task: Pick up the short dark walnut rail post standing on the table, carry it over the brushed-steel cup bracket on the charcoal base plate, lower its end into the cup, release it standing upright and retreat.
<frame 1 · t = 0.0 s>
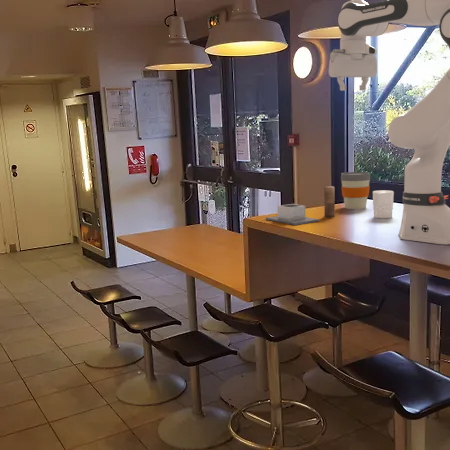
hand: (353, 90, 197), 48 cm above the table, tool pointing down, fingers open, 8 cm apart
reusable coffee cup: (355, 208, 243), on the table
walnut rail post: (329, 216, 222), on the table
white cup: (382, 217, 217), on the table
cup bracket: (291, 220, 217), on the table
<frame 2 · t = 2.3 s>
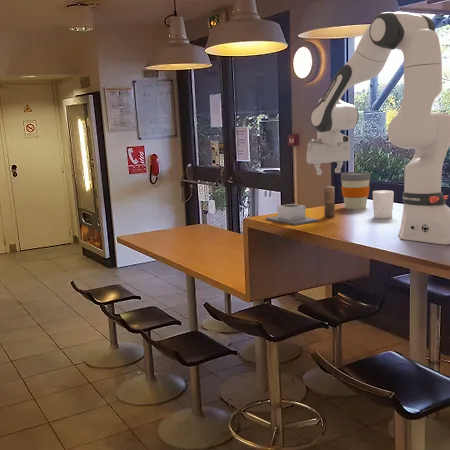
hand: (328, 173, 219), 17 cm above the table, tool pointing down, fingers open, 8 cm apart
nothing on the table moved.
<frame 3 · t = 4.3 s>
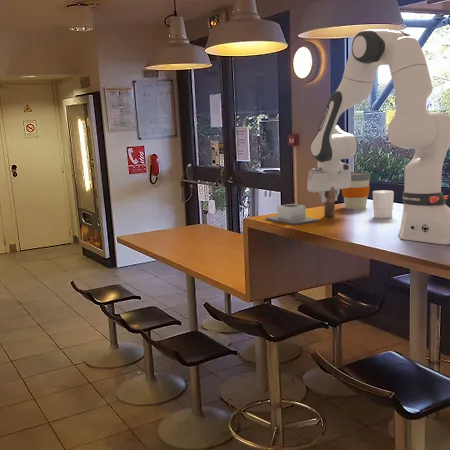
hand: (329, 201, 221), 6 cm above the table, tool pointing down, fingers closed on walnut rail post, 4 cm apart
walnut rail post: (329, 216, 222), on the table, touching gripper
everything else where it was.
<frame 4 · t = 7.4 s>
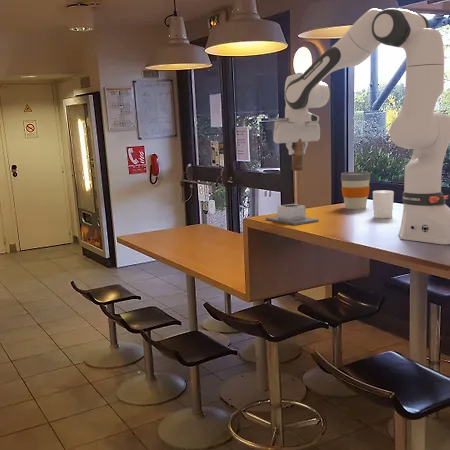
hand: (297, 154, 214), 26 cm above the table, tool pointing down, fingers closed on walnut rail post, 4 cm apart
walnut rail post: (297, 170, 215), point 19 cm above the table, touching gripper
everything else where it was.
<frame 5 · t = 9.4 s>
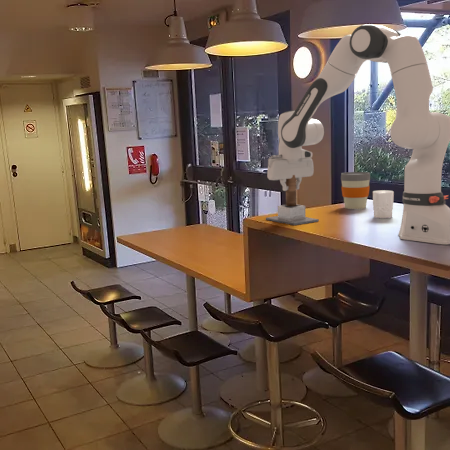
hand: (291, 190, 215), 12 cm above the table, tool pointing down, fingers closed on walnut rail post, 4 cm apart
walnut rail post: (291, 205, 216), point 6 cm above the table, touching gripper
everything else where it was.
when the fingers open (8 cm above the table, at t = 10.9 s): walnut rail post drops 1 cm, resting on cup bracket.
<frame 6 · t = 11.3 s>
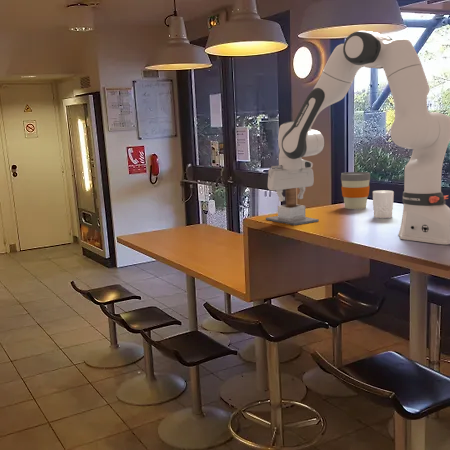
hand: (291, 200, 216), 8 cm above the table, tool pointing down, fingers open, 8 cm apart
walnut rail post: (291, 218, 217), point 1 cm above the table, touching cup bracket
everything else where it was.
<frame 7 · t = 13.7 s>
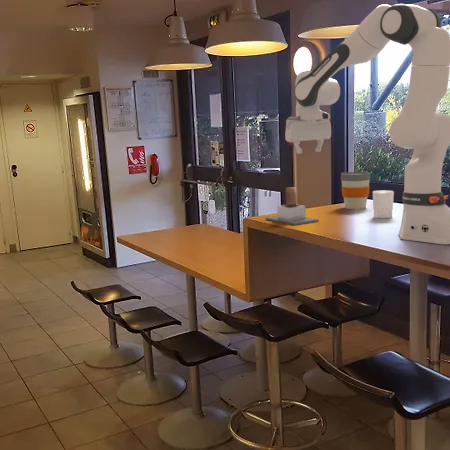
hand: (309, 152, 213), 26 cm above the table, tool pointing down, fingers open, 8 cm apart
nothing on the table moved.
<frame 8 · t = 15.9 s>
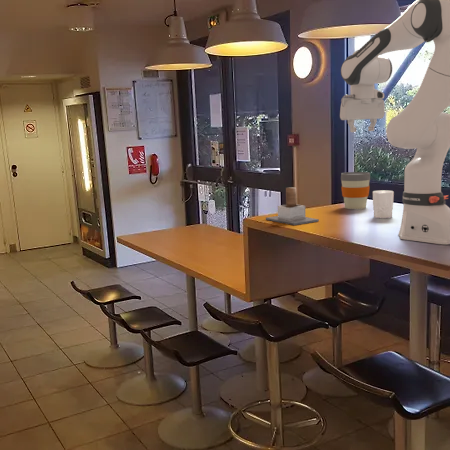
hand: (362, 131, 212), 33 cm above the table, tool pointing down, fingers open, 8 cm apart
nothing on the table moved.
at the end: walnut rail post 0.0 cm off-centre on the cup bracket, point 0.8 cm above the cup bracket's base; walnut rail post tilted 0°; the gripper is holding nothing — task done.
